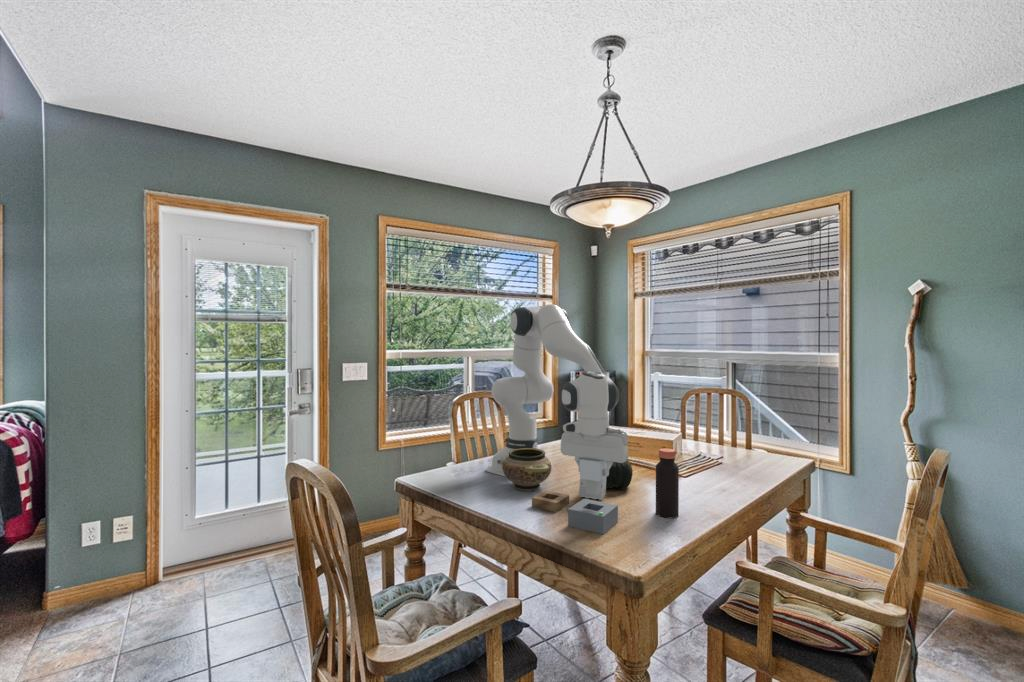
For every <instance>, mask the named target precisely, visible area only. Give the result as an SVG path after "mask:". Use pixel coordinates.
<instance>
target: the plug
mask: <svg viewBox="0 0 1024 682" xmlns="http://www.w3.org/2000/svg"><path fill="white" fill-rule="evenodd" d="M606 467H607V465H606V461H603V460H596V459H589V458H582V459H580V472H579V480H580V479H586V494H592V495H598V494H600V493H601V492H602V479H604V478H606V477H607V476H602V470H603V469H605V468H606Z"/></svg>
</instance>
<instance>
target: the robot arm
mask: <svg viewBox="0 0 1024 682" xmlns="http://www.w3.org/2000/svg"><path fill="white" fill-rule="evenodd" d="M569 318H570V317H569V314H568V312H567V311H566V310H565V309H564V308H562V307H560V306H558V305H556V304H554V303H553V304H552V303H551V304H550V303H549V304H546V305H544V306H543V305H542V306H540V305H539V306H527V307H525V306H521V307H517V308H515V309H514V310H513V311H512V312H511V314H510V321H509V323H510V324H509V325H510V328H511V331H512V333H513V334H514V335H515V337H514V341H513V342H514V343H513V351H512V364H513V365H514V367H515V368H516V369H518V370H520V371H522V372H524V375H522V376H505V377H502V378H497V379H496V380H494V382H493V384H492V385H491V395H492V398H493V400H494V401H495V402H496V403H497V404H498V405H499V406H500V407H501V408H502V409H503V410H504V412H505V413H506V415H507V420H508V434H509V436H508V437H507V438H504V440H503V443H505V446H503V448H501V449H500V450H499V451H497V452H495V454H494V455H493V457H492V458H491V465H488V466H486V468H485V471H486V472H487V473H491V474H495V475H498V476H502V477H505V478H507V477H506V476H505V474H504V472H503V469H502V465H503V462H504V460H505V459H506V456H508V455H509V452H510V451H511V450H514V449H521V448H535V449H539V447H538V445H539V444H538V443H539V442H538V441H539V440H538V437H537V419H536V417H535V416H534V415H533V414H531V413H530V412H528V411H526V410H525V409H524V404H526V405H527V404H528V405H529V404H542V403H544V402H548V401H550V400H551V399H552V397H553V395H554V392H555V391H554V390H555V388H554V384H553V381H551V379H550V378H548V377H547V376H546V374H544V372H543V369H542V364H541V363H542V350H543V348H544V349H545V350H546V352H547V353H549V355H552V356H553V357H555V358H558V359H563V360H567V361H569V362H573V363H575V364H578V365H579V366H580V367H581V368H582V369H583V371H582V372H581V373H580V374H579V376H578V377H577V378H575V379H573V380H571V381H567V382H566V383H565V384H564V385H563V387H562V388H561V389H560V401H561V405H562V406H563V407H564V408H565V409H566V410H567V411H569V412H575V413H576V412H578V419H576V420H573V421H571V422H567V423H565V424H563V425H562V430H563V433H562V434H561V439H560V452H561V454H562V455H563V456H569V457H574V461H575V463H576V465H577V466H578V473H580V459H582V458H589V459H596V460H603V461H606V465H607V467H606V468H605V469H603V470H602V476H609V469H610V467H611V466H612V464H613V462H618V463H623V462H625V461H626V460H627V459H628V460H629V448H628V443H629V442H628V441H629V439H628V438H629V437H628V434H627V432H625V431H624V430H623V429H621V428H619V429H618V428H617V429H616V428H611V427H610V422H609V421H610V420H609V419H610V417H609V412H611V411H612V410H614V408H615V407H616V406H617V404H618V402H619V400H620V391H619V388H618V387H617V385H616V383H615V382H614V381H613V380H612V379H611V378H610V377H609V375H608V374H607V372H606V371H605V369H604V367H603V366H602V365H601V363H600V360H599V359H598V357H597V356H596V354H595V353H594V351H593V350H592V348H591V347H590V345H588V344H587V342H585V341H584V340H582V339H581V338H580V337H579V336H578V334H576V332H575V331H574V330H573V328H572V325H571V324H570V319H569Z"/></svg>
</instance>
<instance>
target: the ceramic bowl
mask: <svg viewBox="0 0 1024 682" xmlns="http://www.w3.org/2000/svg"><path fill="white" fill-rule="evenodd" d="M502 469H503V472H504V474H505V476H506V477H505V476H504V477H505V478H507V480H508V481H510V482H511V483H513V484H514V485H513V486H514V488H515V489H518V490H519V489H520V490H521V491H535V490H538V489H539V488H540V486H541V485H540V484H541V483H542V484H543V482H545V481H546V480H547V479H548V478H549V477H550V476H551V475H550V474H551V472H552V462H551V460H550V459H549V458H548V457H547V456H546V452H545V450H543V449H540V448H538V449H535V448H521V449H514V450H511V451H510V452H509V455H508V456H506V459H505V460H504V462H503V465H502Z"/></svg>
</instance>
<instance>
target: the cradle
mask: <svg viewBox="0 0 1024 682" xmlns="http://www.w3.org/2000/svg"><path fill="white" fill-rule="evenodd" d="M568 504H569V505H570V495H569V494H564V493H560V492H554V491H551V490H544V491H542V492H540V493H538V494H536V495H535V496H533V497H531V507H532V508H534V507H536V508H535V509H538V508H540V510H543V509H545V510H544V511H548V510H549V512H552V511H553V513H558V512H560V511H562V510H563V509H564V508H566V507H567V506H569V505H568ZM559 510H560V511H559Z"/></svg>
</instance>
